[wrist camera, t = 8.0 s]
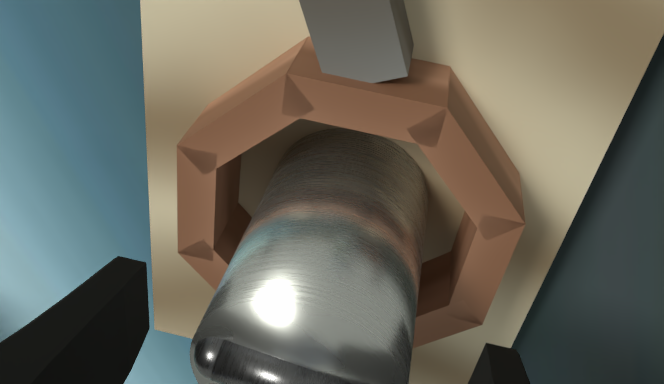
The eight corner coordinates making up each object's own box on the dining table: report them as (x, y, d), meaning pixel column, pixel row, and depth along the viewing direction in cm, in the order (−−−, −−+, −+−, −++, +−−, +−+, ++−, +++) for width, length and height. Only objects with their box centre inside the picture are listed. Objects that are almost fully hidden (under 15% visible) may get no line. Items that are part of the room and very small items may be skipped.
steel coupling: (453, 160, 16) (440, 373, 10) (397, 274, 19) (363, 492, 13) (293, 105, 16) (196, 289, 10) (260, 227, 19) (168, 425, 13)
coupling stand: (480, 381, 22) (481, 467, 20) (167, 306, 23) (127, 378, 20) (694, -79, 13) (754, -37, 10) (156, -181, 14) (78, -167, 11)
